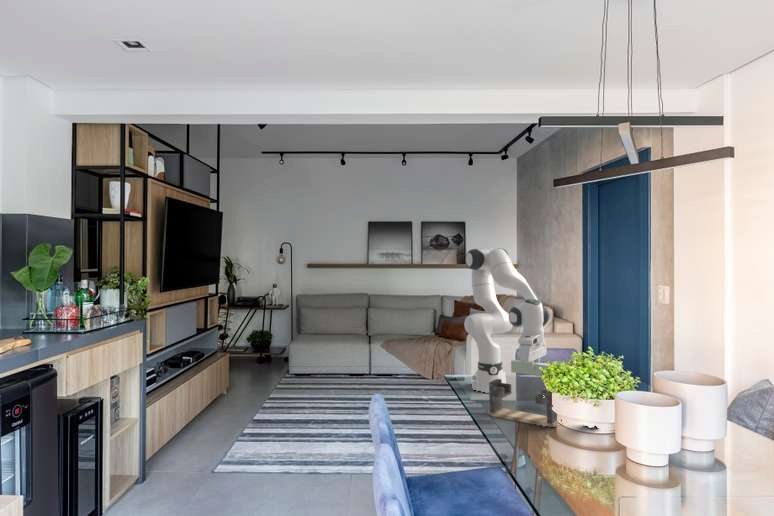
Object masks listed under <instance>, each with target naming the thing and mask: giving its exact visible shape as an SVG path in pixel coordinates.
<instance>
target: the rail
mask: <svg viewBox="0 0 774 516" xmlns="http://www.w3.org/2000/svg"><path fill="white" fill-rule="evenodd" d="M548 364H549V363H544V362H543V363H542V362H539V363H537V362H535V361H534V363H533V365H534V366H535V370H533V371H530V370H529V365H528V363H524V362H521V361H520V359H512V360H511V361H510V369H511V373H516V374H522V375H528V376H535V377H542V372H541V370H540V369H539V367H542V368H547V367H548Z"/></svg>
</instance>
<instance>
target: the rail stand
mask: <svg viewBox="0 0 774 516" xmlns="http://www.w3.org/2000/svg"><path fill="white" fill-rule="evenodd" d="M548 390H549V389H546V388H542V389H541V392H535V394H534V395H535V404H538V405H545V406H546V415H543V414H542V415H541V414H535V413H532V412H527V411H520V410H515V409H510V408H504V407H503V398H506V397H508V396H510V395H511V394H512V384H511V383H507V382H506V383H502V379H496V380H493V381H491V382H489V393H488V395H489V396H488V397H489V410H488V411H487V416H489V415H490V417H496V418H500V419H504V420H505V419H506V420H511V421H514V422H521V423H525V424H531V425H535V424H536V425H535V426H540V425H542V426H541V427H545V426H549V427H548V428H550V427H555V426H556V425H557V414H556V413H555V412H554V411H553V410H552V407H553V405H552V392H550V391H548ZM543 395H544V396H545V398H543V397H544V396H543Z"/></svg>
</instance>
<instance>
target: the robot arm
mask: <svg viewBox="0 0 774 516" xmlns="http://www.w3.org/2000/svg"><path fill="white" fill-rule="evenodd" d="M465 263H466V266H467V267H468V268H469V270H471V289H472V293H473V300H474V303H475V304H476V305H477V306H480V307H482V308H483V309H484V311H485V312H480V313H479V312H478V313H473V314H469V315H467V316H466V317H465V319H464V323H463V324H464V329H465V331H466V333H467V334H468V335H470V336H471V337H472V338H473V339H474V341H475V343H476V346H477V353H478V362H477V369H476V371H475V373H474V375H473V374H472V376H471V377H472V382H473V383H472V387H471V389H472V388H473V389H474V390H477V391H476V392H478V391H481V392H480V393H483V392H485V393H486V394H489V382H491V381H493V380H496V379H502V383H506V384H507V379H506V378H507V376H506V372H505V371H504V370H503V362H502V352H501V350H502V349H501V345H499V343H497V342H496V341H493V340H492V336H491V335H497V334H498V335H499V334H505V333H507V332H510V331H511V330H512V328H513V327H514V328H522V333H521V335H520V336H519V338H518V339H517V341H518V344H519V346H518V349H519V351H518V353H519V354H518V355H519V360H520V361H521V362H524V363H528V365H529V370H530V371H533V370H535V366H534V365H533V363H534V362H537V363H541V362H540V361H541V358H543V357H545V356H546V355H547V352H548V351H547V341H546V339H545V330H544V326H546V325H547V323H548V322H549V321H550V311H549V309H548V308H547V306H546V305H545V304H544V303H543V302H542V301H541V299H540V297H539V296H538V294H537V293H536V291H535V290H534V288H533V287H532V285H531V283H530V282H529V281H528V280H527V278H526V277H524V276H523V275H521V274H520V272H519V271H517V270H516V268H515V266H514V264H513V261H512V260H511V258H510V256H509V252H508V251H507V250H506V249H504V248H500V247H497V248H496V247H484V248H478V249H477V248H473V249H472V248H471V249H470V250H468V251H467V253H466V254H465ZM494 282H495V283H494ZM495 284H496V285H498V286H500V287H502V288H505V289H509V290H512V291H516V292H518V293H519V294H520V295H521V296H522V297H523V298H524V300H523V301H522V303H520V304H518V305H515V306H512V307H511V308H510V309H509V312H508V311H506V310H504V309H503V307H502V306H501V305H500V303H499V301H498V299H497V295H496V289H495ZM485 393H484V394H485Z"/></svg>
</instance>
